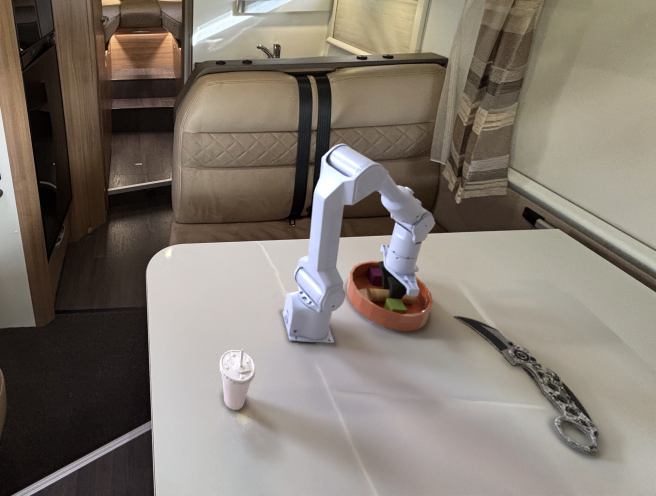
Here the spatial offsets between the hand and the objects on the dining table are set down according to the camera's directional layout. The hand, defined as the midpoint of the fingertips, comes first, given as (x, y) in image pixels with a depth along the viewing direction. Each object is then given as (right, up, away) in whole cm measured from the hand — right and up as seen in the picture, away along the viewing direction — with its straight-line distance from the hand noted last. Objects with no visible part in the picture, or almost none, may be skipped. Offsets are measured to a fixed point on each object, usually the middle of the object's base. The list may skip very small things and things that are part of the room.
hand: (390, 295), depth 102 cm
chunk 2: (-1, -3, -3) cm, 4 cm away
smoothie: (-42, -11, -20) cm, 48 cm away
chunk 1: (0, +1, +7) cm, 7 cm away
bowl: (-1, -2, +1) cm, 2 cm away
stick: (0, -1, +1) cm, 2 cm away
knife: (+18, -9, -16) cm, 26 cm away
